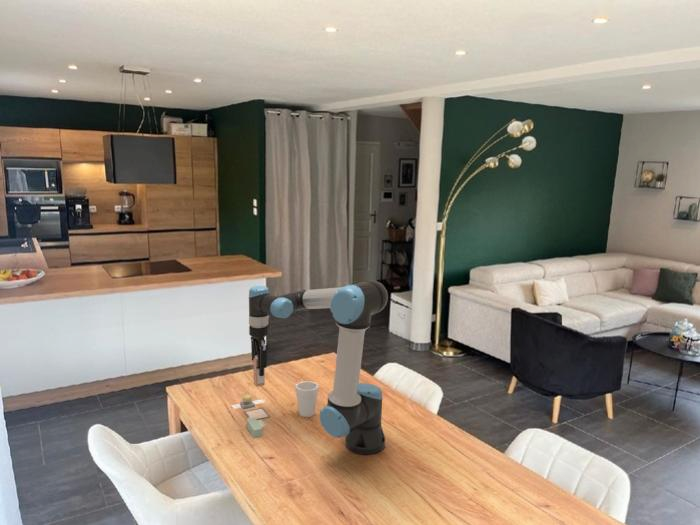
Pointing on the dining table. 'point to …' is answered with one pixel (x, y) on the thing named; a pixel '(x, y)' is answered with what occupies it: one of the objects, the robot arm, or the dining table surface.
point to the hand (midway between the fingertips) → (259, 380)
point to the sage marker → (254, 427)
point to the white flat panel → (256, 413)
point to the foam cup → (306, 398)
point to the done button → (247, 397)
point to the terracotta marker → (256, 373)
